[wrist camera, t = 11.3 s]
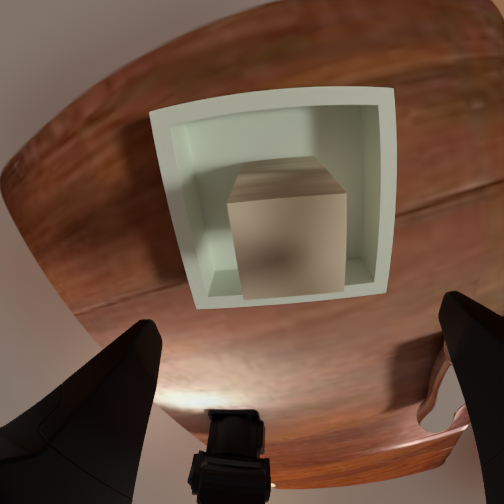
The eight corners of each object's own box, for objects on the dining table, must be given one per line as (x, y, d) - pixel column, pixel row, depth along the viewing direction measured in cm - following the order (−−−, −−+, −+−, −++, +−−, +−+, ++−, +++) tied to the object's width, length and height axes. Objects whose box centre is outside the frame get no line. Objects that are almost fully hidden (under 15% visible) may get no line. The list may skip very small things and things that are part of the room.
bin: (206, 277, 23) (196, 309, 20) (171, 109, 17) (148, 111, 13) (370, 262, 22) (386, 292, 18) (369, 90, 16) (393, 88, 12)
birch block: (252, 226, 20) (243, 299, 13) (243, 162, 18) (227, 203, 11) (318, 221, 19) (344, 291, 12) (314, 155, 17) (346, 193, 10)
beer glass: (463, 423, 26) (507, 358, 19) (422, 443, 26) (460, 384, 19) (446, 388, 32) (477, 316, 25) (406, 404, 32) (431, 335, 25)
